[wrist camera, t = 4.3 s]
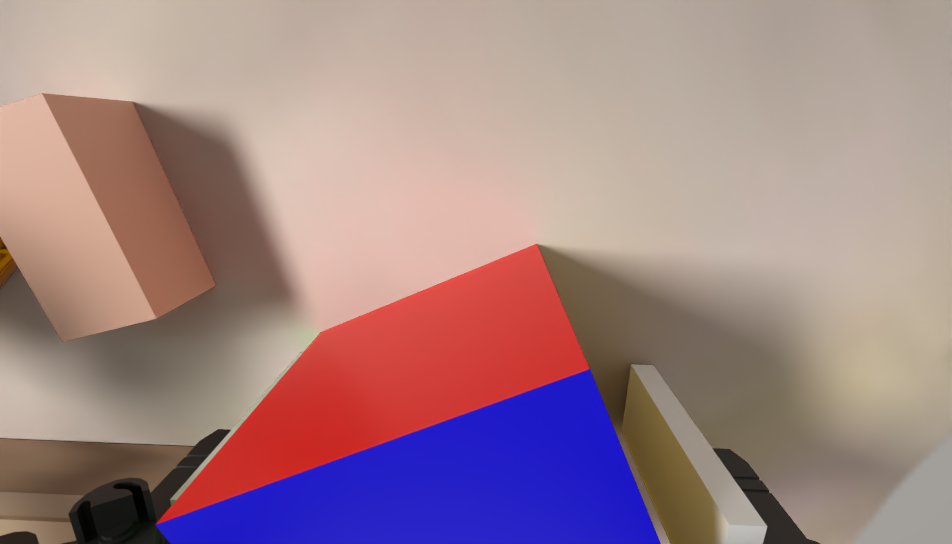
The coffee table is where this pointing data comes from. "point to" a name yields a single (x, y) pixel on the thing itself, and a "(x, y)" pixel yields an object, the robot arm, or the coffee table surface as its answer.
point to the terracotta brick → (93, 215)
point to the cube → (428, 432)
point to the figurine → (6, 263)
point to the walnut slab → (69, 479)
